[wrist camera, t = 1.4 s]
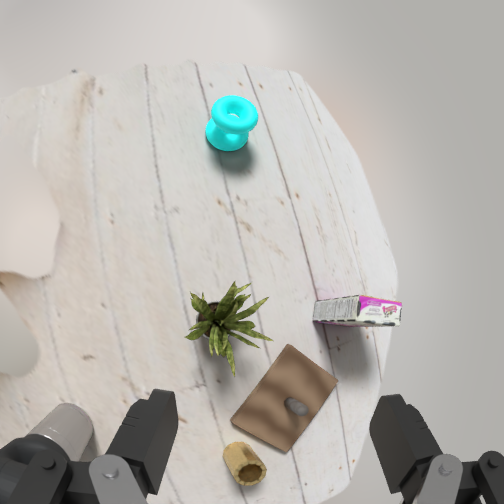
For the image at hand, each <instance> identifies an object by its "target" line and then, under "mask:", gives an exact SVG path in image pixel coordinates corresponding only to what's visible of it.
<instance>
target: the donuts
mask: <svg viewBox="0 0 504 504" xmlns="http://www.w3.org/2000/svg"><path fill="white" fill-rule="evenodd" d="M230 113H232V114H236V115H237V116H239V118H238V117H236V116H234V115H230ZM211 115H212V119H211V120H210V121H209V122H208V123H207V126H206V137H207V139H208V141H209V142H210V143H211V144H212V145H213V146H214V147H216V148H218V149H220V150H223V151H234V150H238V149H240V148H241V147H243V146H244V145H245V143H246V142H247V140H248V132H249V131H251V130H252V129H253V128H254V127H255V126H256V124H257V121H258V113H257V110H256V108H255V107H254V105H253V104H252V103H251V102H250V101H248V100H247V99H245V98H242V97H239V96H233V95H231V96H225V97H222V98H220V99H218V100H217V101H216V102H215V103H214V105H213V107H212V110H211ZM226 132H227V133H226Z"/></svg>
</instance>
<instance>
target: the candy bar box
mask: <svg viewBox="0 0 504 504" xmlns="http://www.w3.org/2000/svg"><path fill="white" fill-rule="evenodd" d="M401 309H402V303H401V302H397V301H390V300H385V299H379V298H374V297H369V296H363V295H356V296H349V297H342V298H336V299H328V300H320V301H315V308H314V315H313V322H319V323H326V324H334V325H342V326H350V327H353V326H354V327H373V326H375V327H376V326H379V327H380V326H400V317H401Z"/></svg>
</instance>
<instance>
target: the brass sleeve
mask: <svg viewBox="0 0 504 504" xmlns="http://www.w3.org/2000/svg"><path fill="white" fill-rule="evenodd" d="M223 458H224V460H225V462H226V464H227V466H228V468H229V470H230V471H231V473H232V475H233V477H234V479H235V480H236V482H237V483H239V484H241V485H244V486H248V485H254V484H256V483H259V482H260V481H261V480H262V479H263V478H264V477H265V475H266V470H267V469H266V467H265V465H264V463H263V462H262V461H261V460H260V458H259V457H258V456H257V455H256V453H255V452H254V451H253V449H252V448H251V447H250V446H249V445H248V444H246V443H244V442H234V443H232V444H229V445H228V446H227V447H226V448H225V449H224V452H223Z"/></svg>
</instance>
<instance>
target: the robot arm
mask: <svg viewBox="0 0 504 504" xmlns="http://www.w3.org/2000/svg"><path fill="white" fill-rule="evenodd" d="M177 430H178V413H177V407H176V400H175V394H174V392H172V391H166V390H160V389H154V390H153V391H152V393H151V395H150V397H149V399H148V400H145V399H139V400H138V401H137V402H136V403H134V404H133V405H132V406H131V407H130V409H129V411H128V412H127V414H126V417H125V418H124V420H123V422H122V425H121V426H120V427H119V429H118V431H117V433H116V435H115V437H114V439H113V441H112V443H111V444H110V446H109V448H108V450H107V452H106V453H105V455H102V456H99V457H97V458H95V459H94V460H93V461H92V462H79V460H80V458H81V456H82V454H83V452H84V450H85V448H86V446H87V444H88V442H89V440H90V438H91V436H92V434H93V425H92V422H91V420H90V418H89V416H88V415H87V414H86V413H85V412H84V411H83V410H82V409H81V408H79V407H78V406H76V405H73V404H69V403H64V404H60V405H58V406H57V407H56V408H55V409H54V410H53V411H52V412H50V413H49V414H48V415H47V416H46V417H45V418H44V419H43V420H42V421H41V422H40V423H39V424H38V425H37V426H36V427H34V428H33V429H32V430H31V431H30V432H29V433H28V434H27V435H26V436H25V437H24V438H17V439H14V440H13V441H11V442H10V443H8V444H7V445H6V446H4V447H3V448H2V449H0V504H148V503H147V501H146V498H147V495H148V493H150V494H154V495H157V494H158V490H159V487H160V484H161V481H162V477H163V474H164V471H165V468H166V465H167V462H168V458H169V455H170V452H171V449H172V446H173V443H174V440H175V437H176V434H177ZM369 430H370V436H371V438H372V441H373V444H374V447H375V449H376V452H377V455H378V458H379V461H380V464H381V466H382V469H383V472H384V475H385V478H386V480H387V484H388V487H389V490H390V493H391V494H393V493H397V492H401V493H402V495H403V498H402V500H401V502H400V504H482V503H481V500H480V498H479V497H480V496H481V495H483V498H484V499H485V502H486V504H504V457H503V456H502V455H501V454H500V453H498V452H496V451H488V452H486V453H484V454H483V455H482V456H481V457H480V459H479V460H478V461H472V462H461V461H460V460H459V459H458V458H457V457H455V456H453V455H450V454H443V453H442V451H441V449H440V447H439V445H438V444H437V442H436V440H435V438H434V437H433V435H432V433H431V431H430V430H429V429H428V426H427V424H426V422H424V419H423V417H422V416H421V414H420V413H419V411H418V410H417V409H416V408H414V407H413V406H412V405H410V404H408V405H406V403H405V401H404V399H403V398H402V396H401V395H400V394H394V395H386V396H381V398H380V399H379V402H378V404H377V407H376V409H375V412H374V414H373V417H372V419H371V422H370V428H369Z"/></svg>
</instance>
